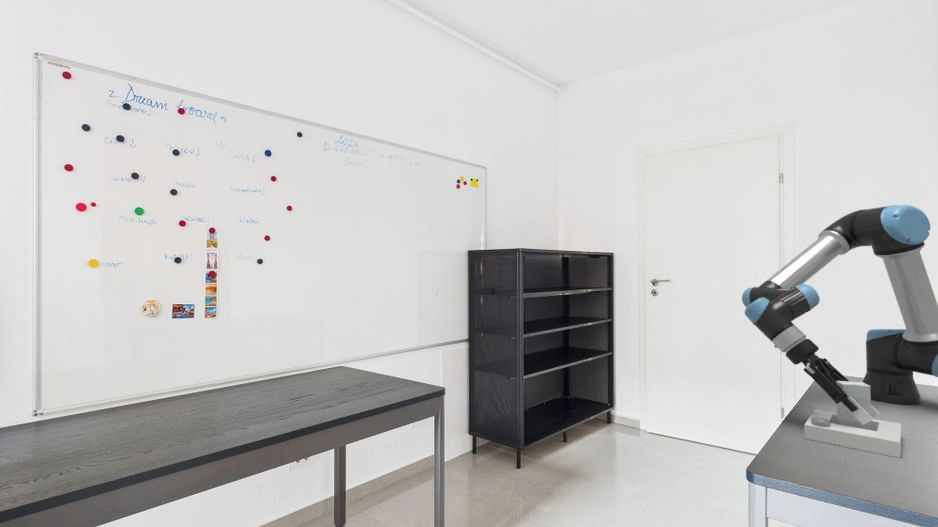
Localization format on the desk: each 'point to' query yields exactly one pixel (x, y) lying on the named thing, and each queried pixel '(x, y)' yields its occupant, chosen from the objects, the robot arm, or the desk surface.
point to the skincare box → (861, 396)
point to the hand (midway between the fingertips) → (871, 418)
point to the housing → (854, 434)
